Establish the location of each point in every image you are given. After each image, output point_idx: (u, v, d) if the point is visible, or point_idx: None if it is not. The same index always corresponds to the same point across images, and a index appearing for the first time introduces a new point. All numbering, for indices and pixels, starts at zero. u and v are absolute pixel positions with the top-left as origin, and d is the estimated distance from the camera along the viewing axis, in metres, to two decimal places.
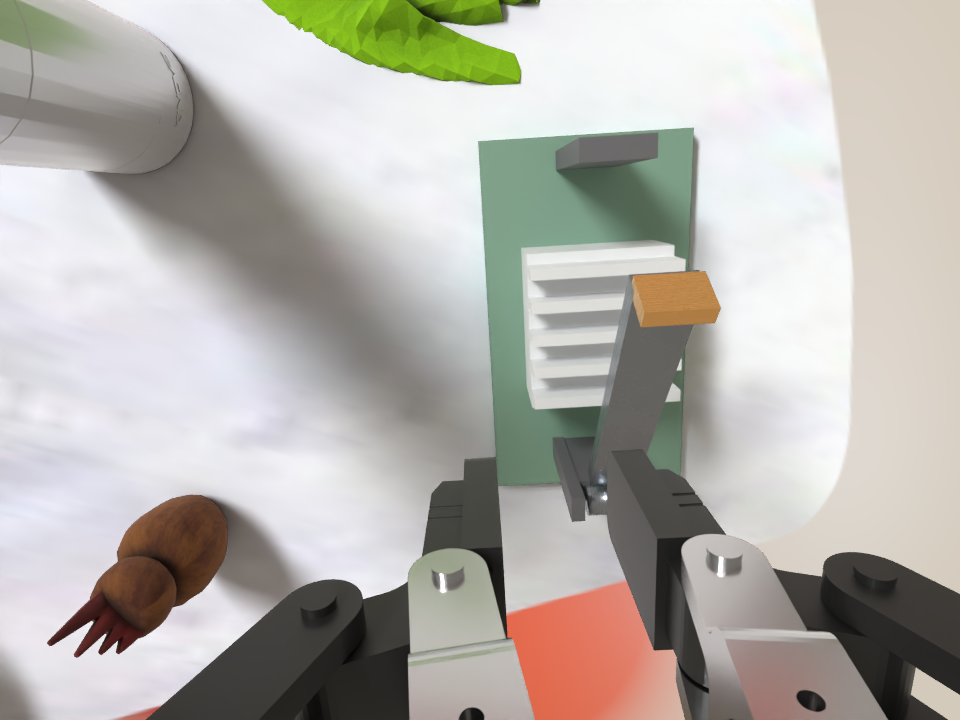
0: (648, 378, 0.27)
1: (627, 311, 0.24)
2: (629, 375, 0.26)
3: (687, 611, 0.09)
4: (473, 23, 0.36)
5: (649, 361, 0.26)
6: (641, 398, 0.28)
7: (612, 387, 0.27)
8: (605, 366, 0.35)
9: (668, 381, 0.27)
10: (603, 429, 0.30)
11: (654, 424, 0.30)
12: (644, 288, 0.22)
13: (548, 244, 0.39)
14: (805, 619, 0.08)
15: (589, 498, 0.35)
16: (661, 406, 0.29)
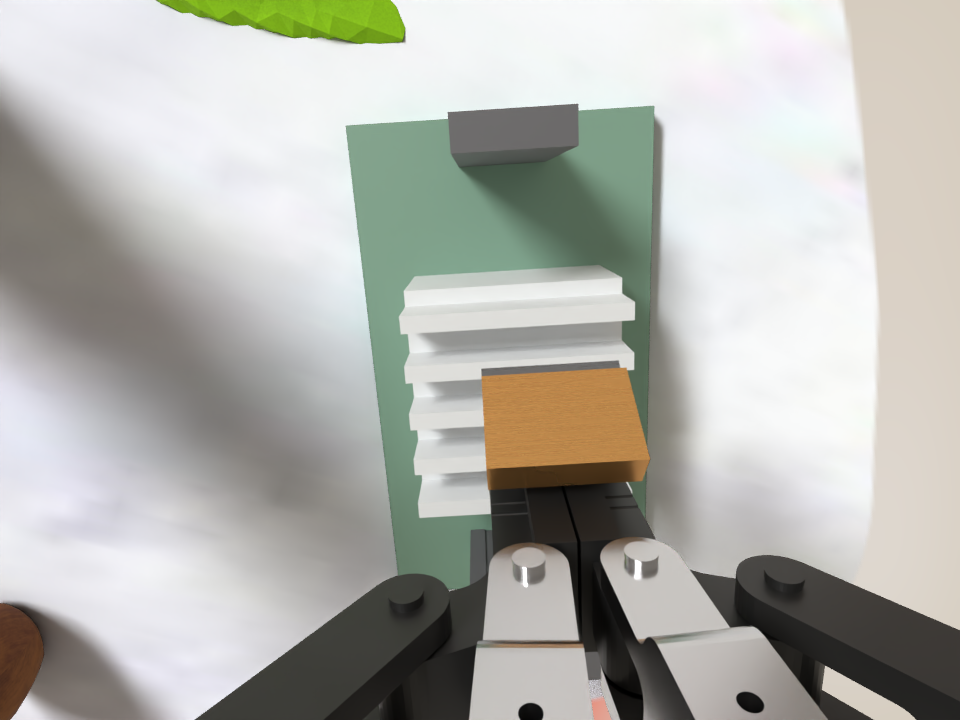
0: None
1: None
2: None
3: (605, 614, 0.09)
4: None
5: None
6: None
7: None
8: None
9: None
10: None
11: None
12: (497, 408, 0.11)
13: (453, 271, 0.28)
14: None
15: None
16: None
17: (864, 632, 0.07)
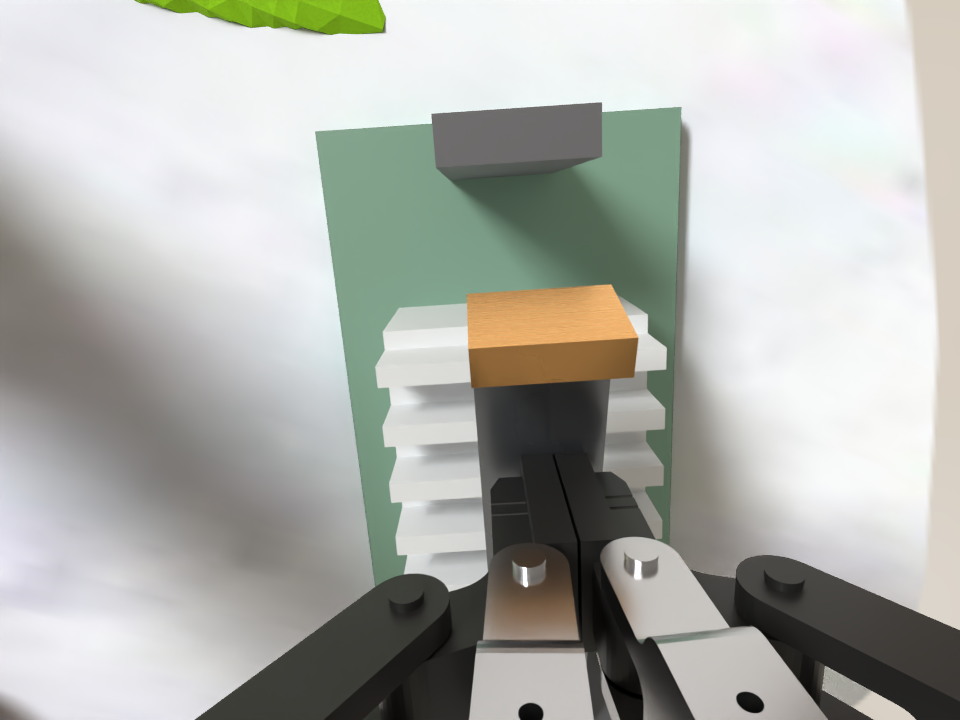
0: None
1: None
2: None
3: (605, 614, 0.09)
4: None
5: None
6: None
7: (486, 543, 0.14)
8: None
9: None
10: None
11: None
12: (481, 311, 0.10)
13: (444, 302, 0.24)
14: None
15: None
16: None
17: (864, 632, 0.07)
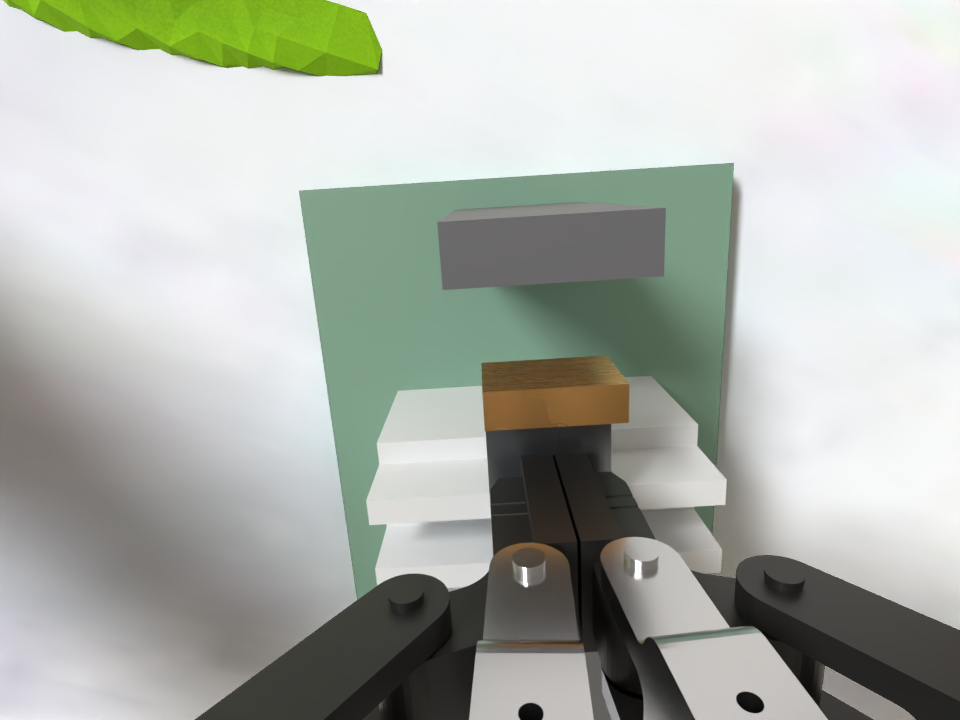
0: None
1: None
2: None
3: (605, 614, 0.09)
4: None
5: None
6: None
7: None
8: None
9: None
10: None
11: None
12: (494, 372, 0.12)
13: (450, 384, 0.20)
14: None
15: None
16: None
17: (864, 632, 0.07)
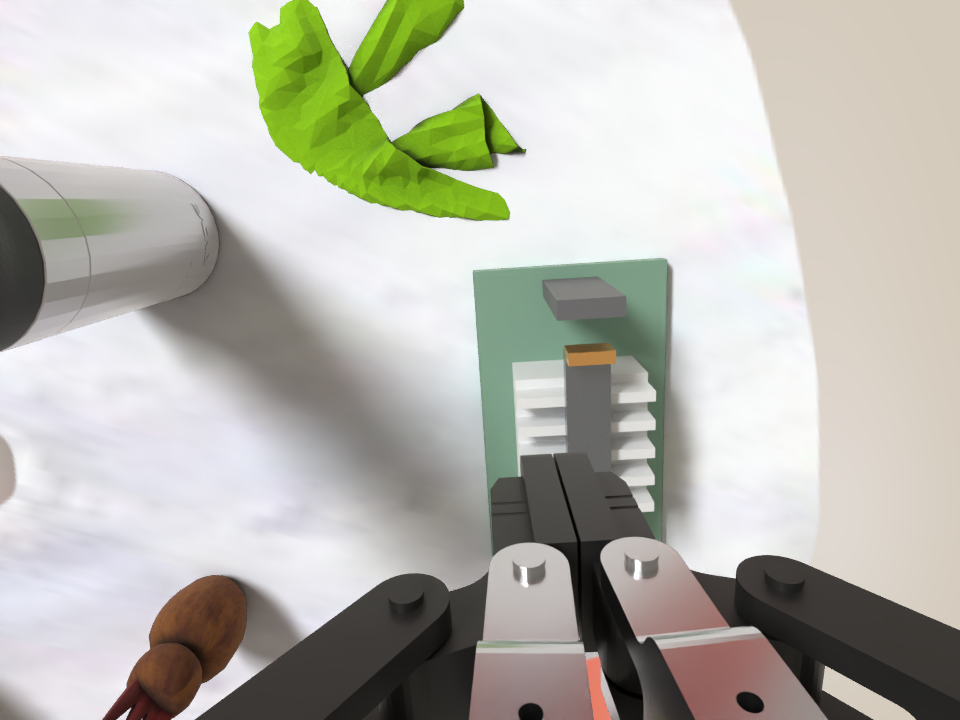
0: (592, 438, 0.37)
1: (565, 373, 0.36)
2: (577, 433, 0.37)
3: (605, 614, 0.09)
4: (467, 169, 0.41)
5: (589, 419, 0.36)
6: (592, 461, 0.37)
7: (567, 448, 0.37)
8: None
9: (608, 442, 0.37)
10: None
11: None
12: (569, 348, 0.35)
13: (536, 359, 0.43)
14: None
15: None
16: None
17: (864, 632, 0.07)
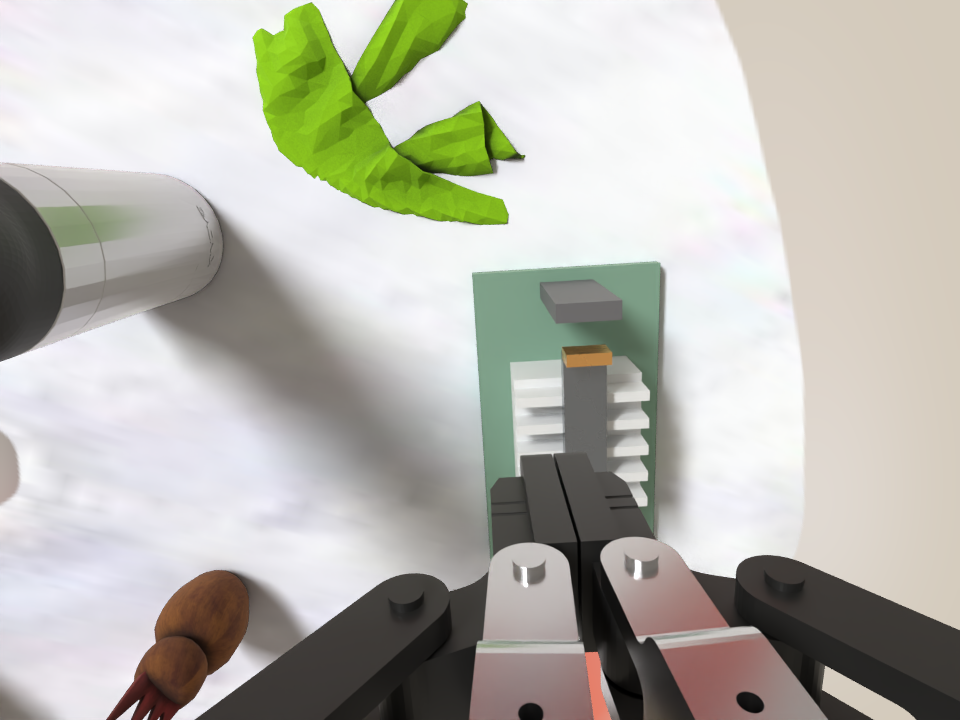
0: (588, 436, 0.38)
1: (562, 374, 0.37)
2: (574, 432, 0.38)
3: (605, 614, 0.09)
4: (467, 175, 0.42)
5: (586, 418, 0.38)
6: None
7: (565, 446, 0.38)
8: None
9: (603, 440, 0.38)
10: None
11: None
12: (567, 349, 0.36)
13: (534, 359, 0.45)
14: None
15: None
16: (605, 468, 0.39)
17: (864, 632, 0.07)
